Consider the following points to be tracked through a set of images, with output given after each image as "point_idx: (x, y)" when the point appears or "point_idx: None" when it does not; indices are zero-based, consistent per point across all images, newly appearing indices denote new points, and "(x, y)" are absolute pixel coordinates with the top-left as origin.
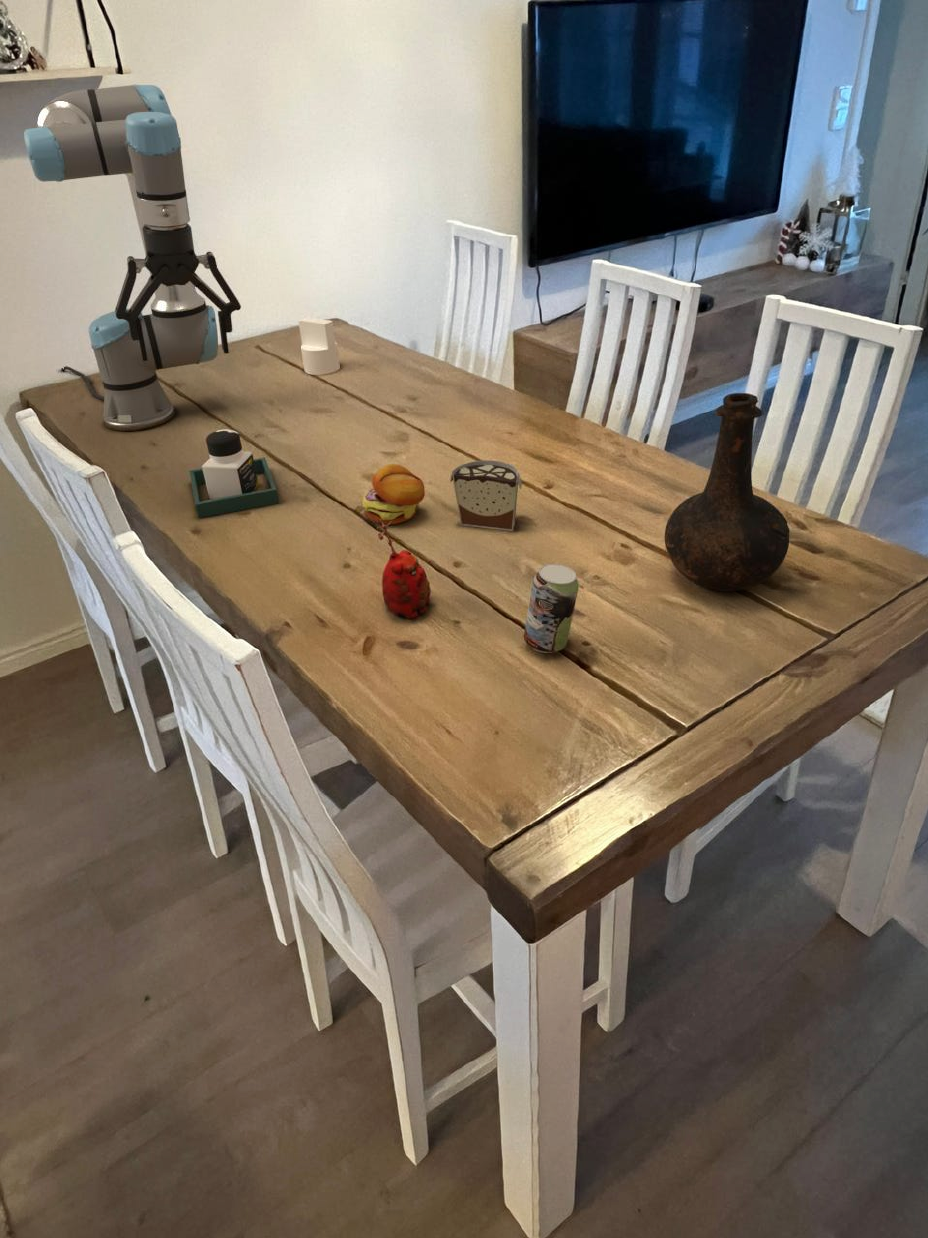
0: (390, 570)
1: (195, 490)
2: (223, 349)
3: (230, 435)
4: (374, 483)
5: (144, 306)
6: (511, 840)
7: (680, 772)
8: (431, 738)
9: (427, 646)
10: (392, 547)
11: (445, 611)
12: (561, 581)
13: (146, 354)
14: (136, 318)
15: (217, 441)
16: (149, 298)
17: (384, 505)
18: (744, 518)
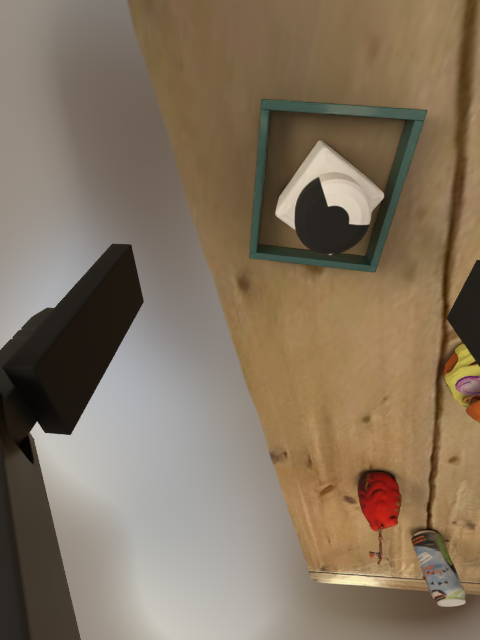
0: (368, 521)
1: (257, 207)
2: (459, 308)
3: (346, 240)
4: (475, 409)
5: (54, 539)
6: (318, 572)
7: (402, 585)
8: (319, 540)
9: None
10: (380, 534)
11: None
12: (445, 605)
13: (135, 316)
14: (35, 454)
15: (313, 247)
16: (70, 620)
17: (463, 402)
18: None
